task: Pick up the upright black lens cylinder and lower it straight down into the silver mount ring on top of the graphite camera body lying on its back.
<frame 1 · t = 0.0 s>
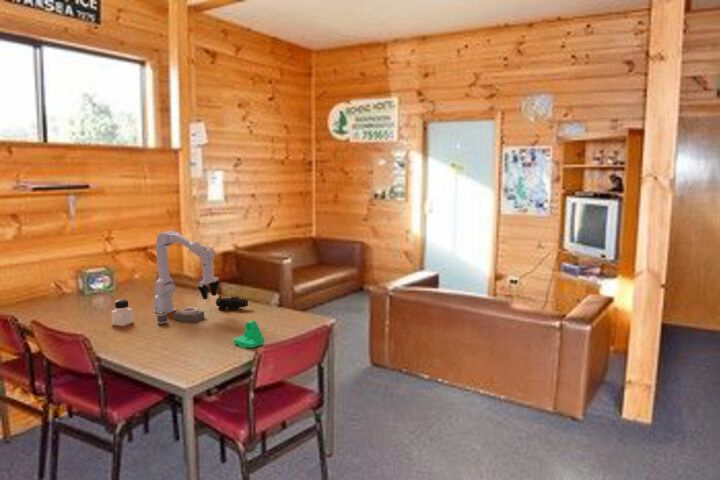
hand: (209, 297, 270), 10 cm above the table, tool pointing down, fingers open, 7 cm apart
medicine bottle: (123, 324, 259), on the table
camera mount: (248, 345, 228), on the table
night vision scope: (231, 309, 283), on the table
camera body: (189, 318, 266), on the table
lens: (162, 323, 259), on the table
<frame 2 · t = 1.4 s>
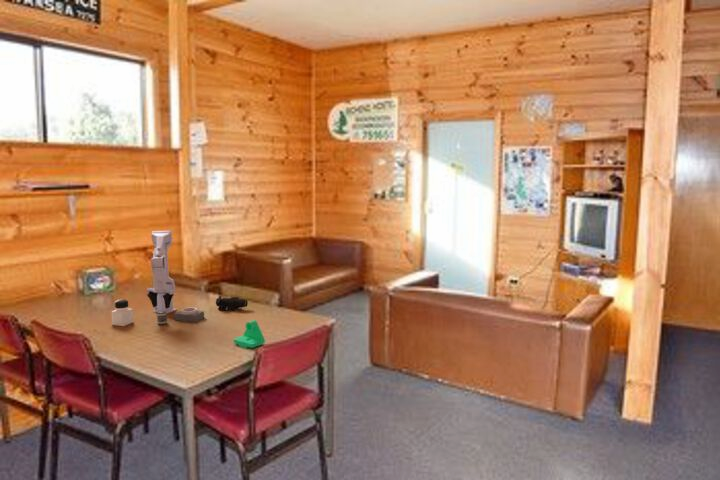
hand: (161, 307, 257), 8 cm above the table, tool pointing down, fingers open, 7 cm apart
nothing on the table moved.
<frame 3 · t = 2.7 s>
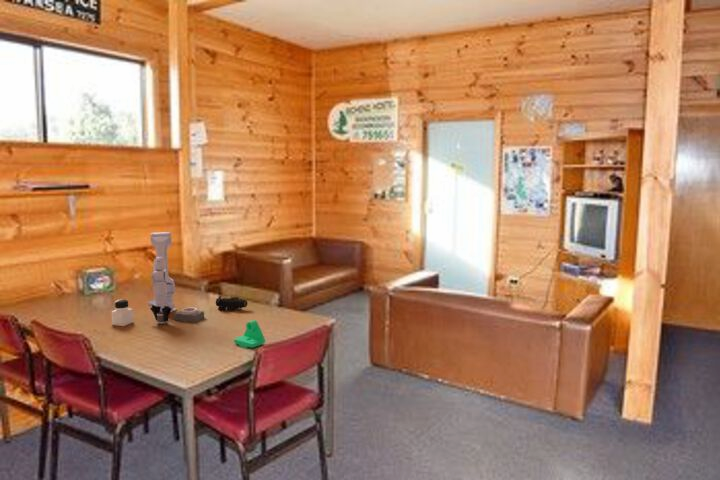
hand: (162, 320, 258), 2 cm above the table, tool pointing down, fingers closed on lens, 4 cm apart
lens: (162, 323, 259), on the table, touching gripper
everything else where it was.
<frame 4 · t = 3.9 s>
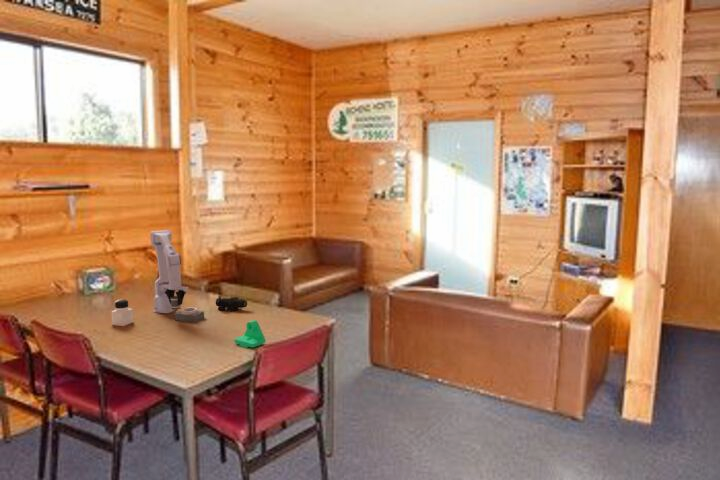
hand: (176, 304, 261), 9 cm above the table, tool pointing down, fingers closed on lens, 4 cm apart
lens: (175, 308, 261), point 7 cm above the table, touching gripper
everything else where it was.
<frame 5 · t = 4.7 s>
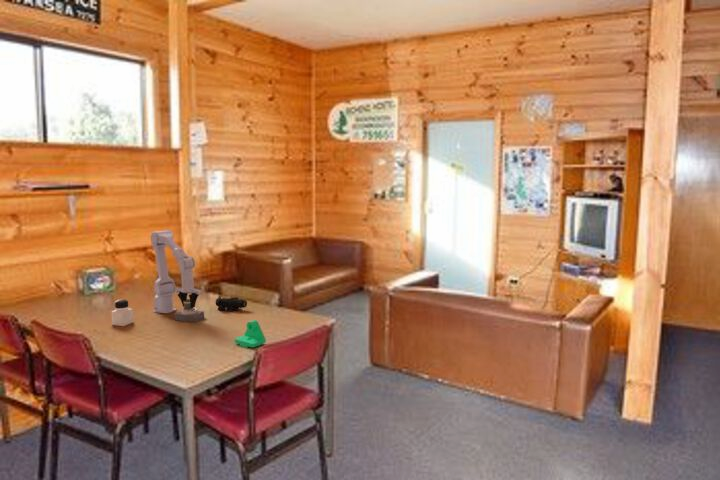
hand: (188, 306, 265), 6 cm above the table, tool pointing down, fingers closed on lens, 4 cm apart
lens: (188, 311, 265), point 4 cm above the table, touching gripper
everything else where it was.
when the fingers open (6 cm above the table, at t = 5.2 s): lens stays where it is, resting on camera body.
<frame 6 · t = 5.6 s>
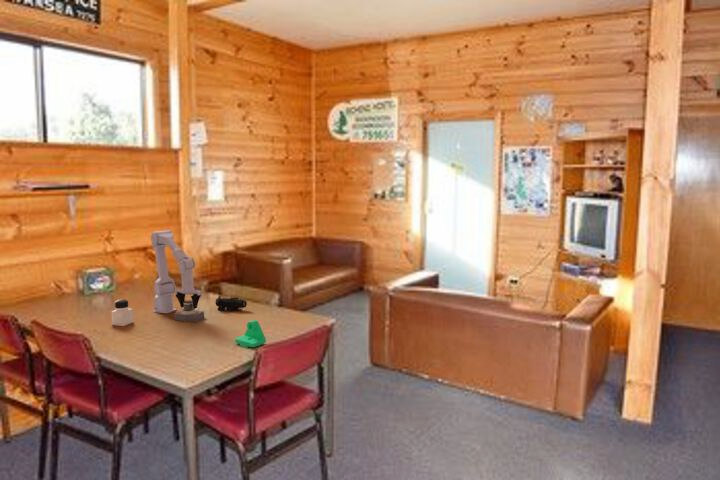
hand: (189, 307, 265), 6 cm above the table, tool pointing down, fingers open, 7 cm apart
lens: (188, 312, 265), point 4 cm above the table, touching camera body
everything else where it was.
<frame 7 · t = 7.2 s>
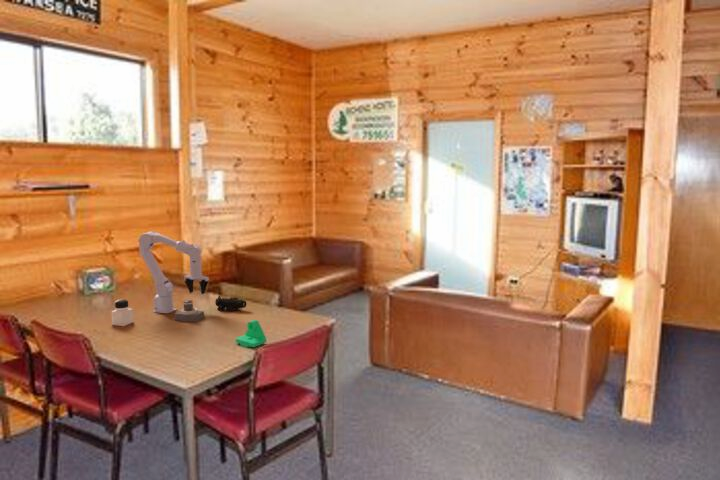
hand: (197, 293, 279), 10 cm above the table, tool pointing down, fingers open, 7 cm apart
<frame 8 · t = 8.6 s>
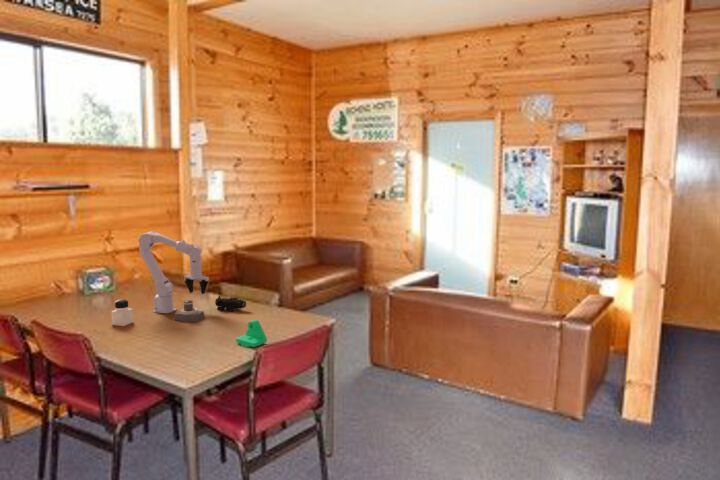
hand: (197, 293, 279), 10 cm above the table, tool pointing down, fingers open, 7 cm apart
at the end: lens 0.5 cm off-centre on the camera body, point 3.5 cm above the camera body's base; lens tilted 1°; the gripper is holding nothing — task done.
